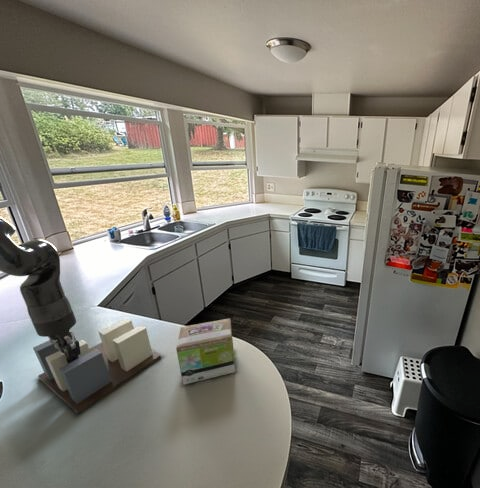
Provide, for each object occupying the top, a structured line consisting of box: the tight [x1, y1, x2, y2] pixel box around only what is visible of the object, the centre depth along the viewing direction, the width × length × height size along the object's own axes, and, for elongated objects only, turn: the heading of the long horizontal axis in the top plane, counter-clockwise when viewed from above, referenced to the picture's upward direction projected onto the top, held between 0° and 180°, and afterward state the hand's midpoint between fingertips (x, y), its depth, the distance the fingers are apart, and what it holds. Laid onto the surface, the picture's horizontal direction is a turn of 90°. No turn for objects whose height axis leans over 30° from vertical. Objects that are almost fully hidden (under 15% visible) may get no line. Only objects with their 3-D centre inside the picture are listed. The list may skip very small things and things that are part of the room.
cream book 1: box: [46, 339, 90, 391], centre depth 73 cm, size 8×3×11 cm, turn 154°
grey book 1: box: [32, 335, 77, 380], centre depth 76 cm, size 8×3×11 cm, turn 154°
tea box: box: [175, 318, 236, 386], centre depth 79 cm, size 15×10×15 cm
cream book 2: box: [98, 317, 135, 362], centre depth 83 cm, size 8×3×11 cm, turn 154°
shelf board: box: [37, 342, 162, 415], centre depth 80 cm, size 22×24×1 cm
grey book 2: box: [59, 349, 111, 404], centre depth 70 cm, size 8×3×11 cm, turn 154°
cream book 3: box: [112, 325, 153, 372], centre depth 80 cm, size 8×3×11 cm, turn 154°
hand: (72, 363), depth 73 cm, fingers closed on cream book 1, 3 cm apart
